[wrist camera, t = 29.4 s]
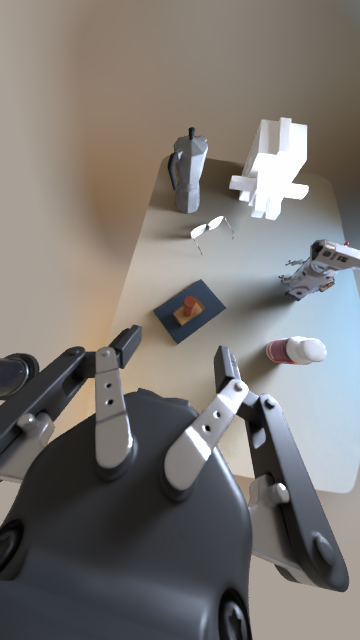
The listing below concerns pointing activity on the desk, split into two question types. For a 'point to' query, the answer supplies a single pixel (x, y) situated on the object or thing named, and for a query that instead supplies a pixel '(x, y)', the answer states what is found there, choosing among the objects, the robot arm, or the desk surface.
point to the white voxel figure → (273, 167)
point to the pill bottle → (296, 351)
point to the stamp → (187, 311)
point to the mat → (165, 312)
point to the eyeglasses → (202, 228)
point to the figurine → (321, 268)
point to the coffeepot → (187, 170)
